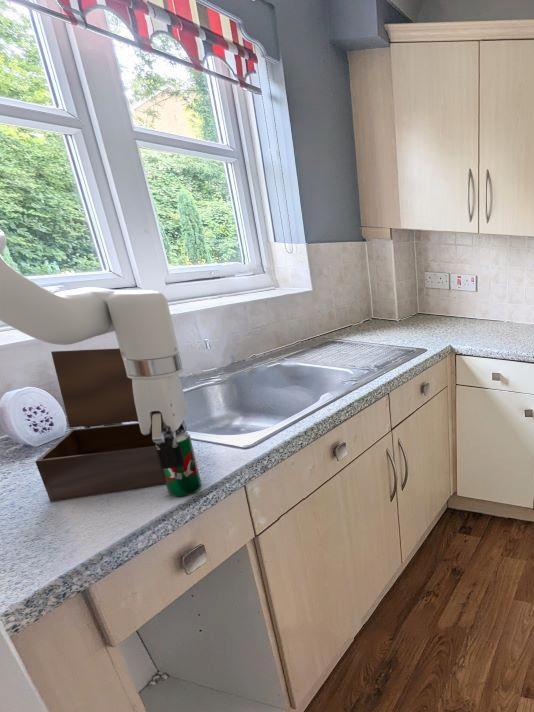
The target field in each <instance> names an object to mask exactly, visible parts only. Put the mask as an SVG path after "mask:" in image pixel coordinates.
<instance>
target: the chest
mask: <svg viewBox="0 0 534 712" xmlns="http://www.w3.org/2000/svg"><path fill="white" fill-rule="evenodd" d="M164 431H166V428H164ZM34 462H35V465H36V467H37V470H38V472H39V476H40V479H41V481H42V484H43V486H44V489H45V492H46V494H47V497H48V499H49V502H57V501H64V500H71V499H77V498H84V497H85V498H86V497H90V496H91V497H92V496H99V495H104V494H110V493H112V494H113V493H117V492H125V491H131V490H138V489H145V488H152V487H157V486H165V485H166V482H165V478H164V474H163V470H162V467H161V463H160V459H159V455H158V452H157V449H156V444H155V443H154V442H153V440H152V430H151V432H150V433H149V434H148V435H143V434H142V433H141V430H140V426H139V422H134V423H132V422H131V423H124V424H123V423H122V425H112V426H102V427H93V428H84V427H82V428H75V429H74V428H72V429H70V430H69V431H68V432H66V434H65V435H63V436H62V437H61V438H60V439H59V440H58V441H56V442H55V443H54V444H53V445H52V446H51V447H50V448H49V449H48V450H46V451H45V452H44V453H43V454H42V455H41V456H40V457H38V458H37V459H36V460H35V461H34Z"/></svg>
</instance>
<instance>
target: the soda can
mask: <svg viewBox="0 0 534 712" xmlns="http://www.w3.org/2000/svg"><path fill="white" fill-rule="evenodd" d="M187 432H188V431H186V430H185V429H177V430H176V438H177V445H180V447H181V451H182V455H183V459H184V463H185V464H184V466H182V467H176V468H168V469H163V468H162V470H163V474H164V478H165V482H166V489H167V493H168V495H170V496H172V497H176V498H177V497H186V496H190V495H193V494H194V493H196V492H198V491H199V490H200V488H201V487H202V481H201V477H200V471H199V468H198V463H197V459H196V455H195V451H194V446H193V442H192V438H191V435H190V434H189V433H187ZM164 436H165V437H169V438H170V439H171V436H170V434H165V435H164ZM157 452H158V451H157ZM160 463H161V462H160ZM161 467H162V466H161Z"/></svg>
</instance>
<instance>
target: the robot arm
mask: <svg viewBox="0 0 534 712" xmlns="http://www.w3.org/2000/svg"><path fill="white" fill-rule="evenodd" d="M7 241H8V239H7V235H6V234H5V233H4V231H3V230H2V229H1V228H0V322H1V323H4V324H6V325H8V326H9V327H11V328H13V329H14V330H16V331H18V332H21V333H23V334H24V335H27V336H29V337H31V338H33V339H36V340H39V341H41V342H44V343H47V344H52V345H59V346H60V345H61V346H67V345H68V346H69V345H74V344H77V343H81V342H83V341H87V340H90V339H92V338H95V337H98V336H102V335H106V334H109V333H112V332H114V334H115V337H116V340H117V345H118V348H120V352H121V355H122V359H123V363H124V366H125V370H126V373H127V377H128V378H130V379H132V386H133V395H134V401H135V407H136V411H137V416H138V421H137V422H138V423H139V426H140V430H141V433H142V434H143V435H148V434H149V433H150V432H151V430H152V440H153V442H154V443H155V444H156V449H157V451H158V455H159V459H160V462H161V466H162V468H163V469H168V468H176V467H182V466H184V464H185V463H184V459H183V455H182V451H181V447H180V445H177V438H176V430H177V429H185V430H186V432H187V433H188V431H187V425H186V423H185V418H186V417H187V414H188V408H187V401H186V398H185V393H184V389H183V385H182V383H181V382H182V381H181V379H180V376H179V374H181V373H182V372H183V371H184V368H183V364H182V359H181V355H180V350H179V346H178V341H177V338H176V333H175V328H174V325H173V324H174V323H173V320H172V316H171V311H170V307H169V303H168V299H167V297H166V296H165V295H164V294H163V293H162V292H160V291H156V290H149V289H130V290H118V289H117V290H116V289H110V288H103V287H93V286H91V287H90V286H89V287H88V286H86V287H79V288H73V289H67V290H61V291H55V292H52V291H51V290H49V289H47V288H45V287H43V286H42V285H40V284H38V283H36V282H35V281H33V280H31V279H29V278H28V277H26V276H24V275H23V274H21V273H20V272H19V271H17V270H16V269H14V268H13V267H12V266H11V265H10V264H8V263H7V261H5V260H4V258H3V257H2V254H3V253H4V251H5V249H6V247H7ZM164 428H166V431H164ZM165 434H170V436H171V439H170V438H169V437H165V436H164V435H165ZM188 434H189V433H188Z"/></svg>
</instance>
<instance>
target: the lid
mask: <svg viewBox="0 0 534 712" xmlns="http://www.w3.org/2000/svg"><path fill="white" fill-rule="evenodd" d="M50 353H51V357H52V361H53V366H54V369H55V370H54V371H55V374H56V377H57V382H58V385H59V390H60V395H61V398H62V402H63V406H64V410H65V411H64V412H65V414H66V418H67V423H68V427H69V429H74V428H84V426H94V425H104V424H114V423H122V424H123V423H124V424H125V423H132V422H134V423H135V422H139V421H138V416H137V411H136V407H135V401H134V395H133V386H132V379H130V378H128V377H127V373H126V370H125V366H124V363H123V359H122V355H121V352H120V348H119V347H116V348H115V347H114V348H93V349H90V348H89V349H73V350H53V351H50Z"/></svg>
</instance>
